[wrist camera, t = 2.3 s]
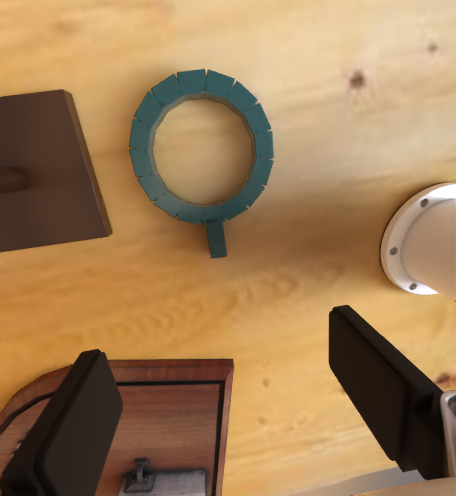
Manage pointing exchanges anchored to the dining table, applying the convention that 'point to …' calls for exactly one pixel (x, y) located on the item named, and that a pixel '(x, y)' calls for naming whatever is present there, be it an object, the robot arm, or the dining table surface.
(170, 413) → the control panel
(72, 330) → the dining table surface
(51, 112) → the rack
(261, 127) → the ring
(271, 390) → the dining table surface
